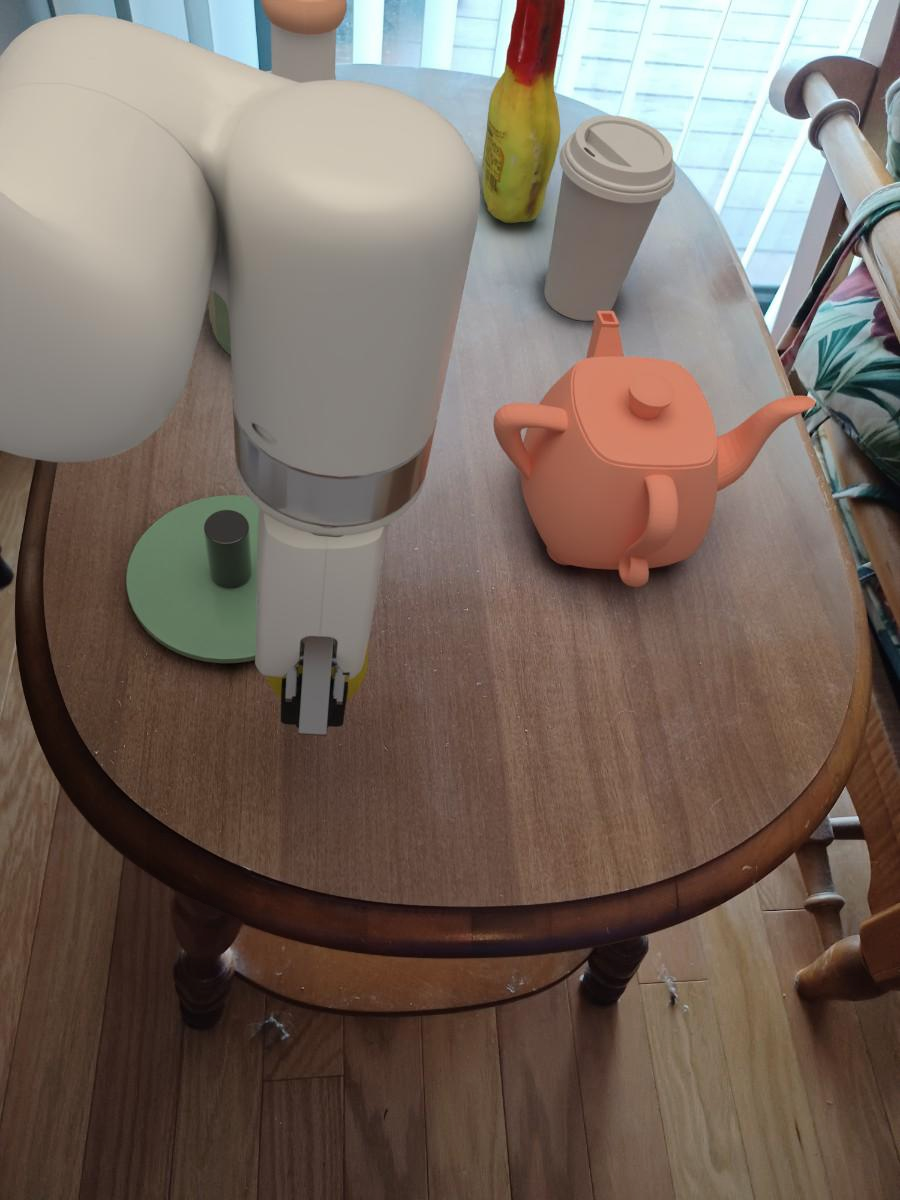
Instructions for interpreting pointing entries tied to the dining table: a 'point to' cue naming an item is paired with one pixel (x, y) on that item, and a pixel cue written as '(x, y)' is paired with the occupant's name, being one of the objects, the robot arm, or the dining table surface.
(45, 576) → the dining table surface
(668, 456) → the teapot
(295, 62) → the salt shaker
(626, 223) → the coffee cup
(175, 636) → the pot lid
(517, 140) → the bottle
